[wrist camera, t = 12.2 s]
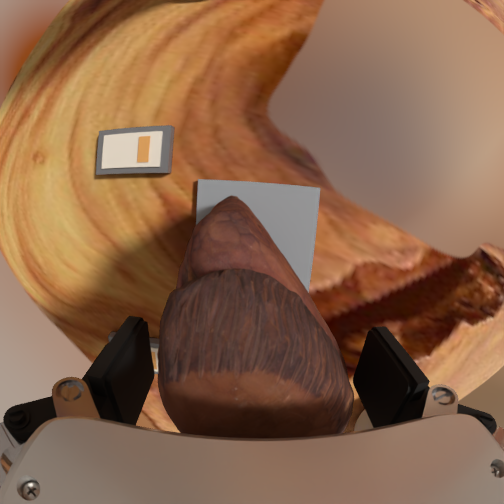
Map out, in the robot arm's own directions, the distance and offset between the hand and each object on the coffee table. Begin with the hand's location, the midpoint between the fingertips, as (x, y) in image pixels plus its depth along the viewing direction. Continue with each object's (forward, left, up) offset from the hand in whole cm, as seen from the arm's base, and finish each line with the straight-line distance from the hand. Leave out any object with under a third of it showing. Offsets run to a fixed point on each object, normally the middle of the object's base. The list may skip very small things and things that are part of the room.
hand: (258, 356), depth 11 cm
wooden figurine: (0, 0, -13) cm, 13 cm away
